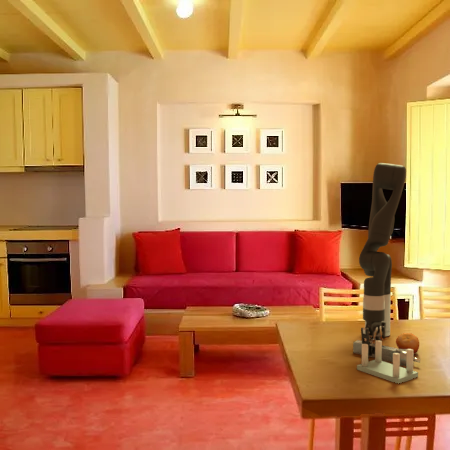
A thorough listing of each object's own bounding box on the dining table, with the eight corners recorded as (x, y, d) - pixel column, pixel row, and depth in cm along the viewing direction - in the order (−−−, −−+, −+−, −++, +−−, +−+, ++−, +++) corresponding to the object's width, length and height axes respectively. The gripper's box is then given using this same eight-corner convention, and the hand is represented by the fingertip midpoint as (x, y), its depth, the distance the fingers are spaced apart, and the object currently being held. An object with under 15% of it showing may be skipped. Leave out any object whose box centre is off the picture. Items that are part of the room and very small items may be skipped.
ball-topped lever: (351, 353, 183) (351, 342, 182) (359, 349, 187) (360, 339, 187) (415, 368, 166) (415, 357, 166) (423, 364, 170) (423, 352, 170)
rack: (356, 369, 166) (357, 344, 165) (376, 363, 172) (376, 339, 171) (398, 383, 153) (398, 356, 152) (418, 376, 159) (418, 350, 158)
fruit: (418, 345, 187) (419, 329, 183) (419, 361, 181) (419, 346, 177) (395, 343, 190) (396, 328, 186) (395, 359, 184) (395, 344, 180)
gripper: (373, 312, 171) (373, 360, 172) (393, 305, 181) (392, 351, 182) (353, 308, 176) (353, 355, 177) (374, 302, 187) (373, 347, 188)
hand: (373, 353), depth 180 cm, fingers open, 6 cm apart
